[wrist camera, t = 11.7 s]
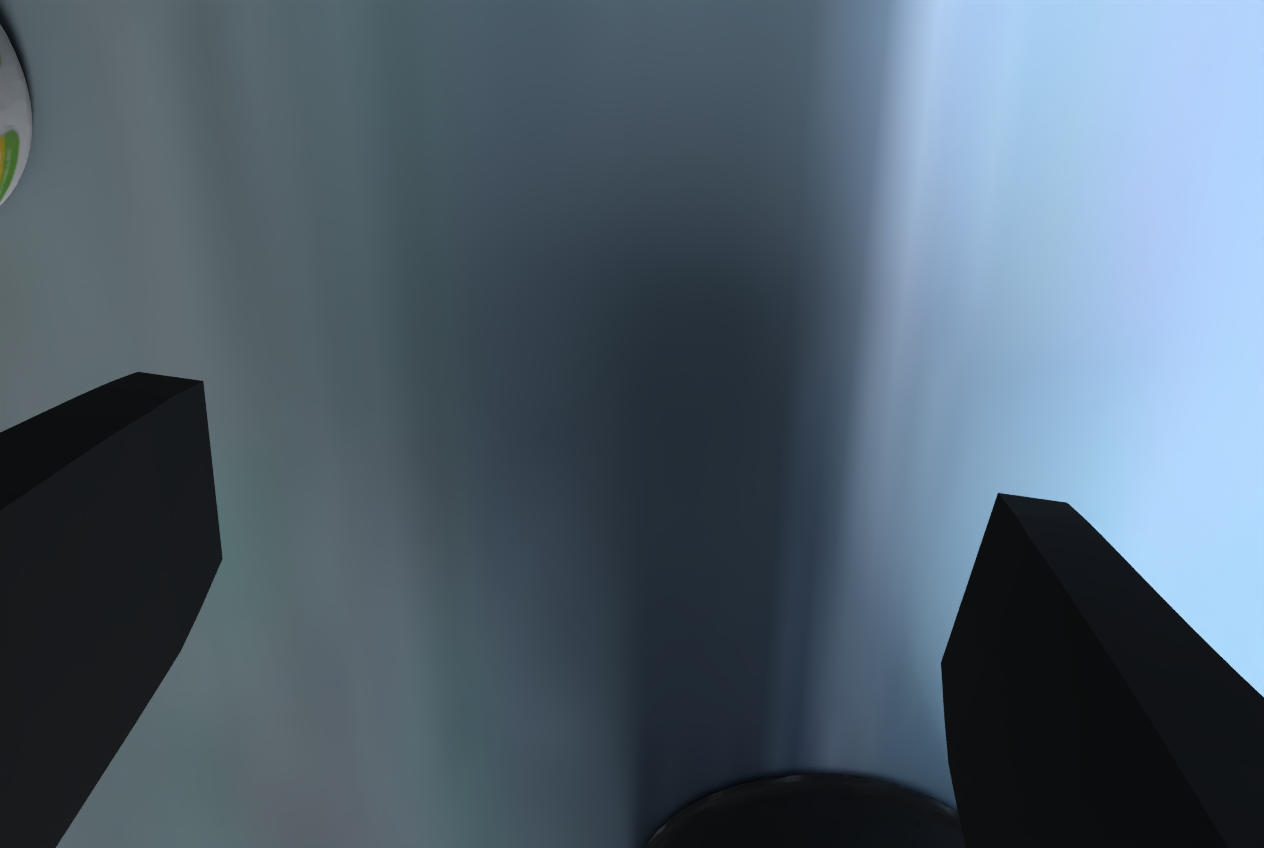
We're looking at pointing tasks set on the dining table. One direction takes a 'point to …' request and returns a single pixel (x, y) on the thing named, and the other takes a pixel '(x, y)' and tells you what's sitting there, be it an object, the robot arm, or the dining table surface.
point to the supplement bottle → (12, 118)
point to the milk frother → (813, 817)
